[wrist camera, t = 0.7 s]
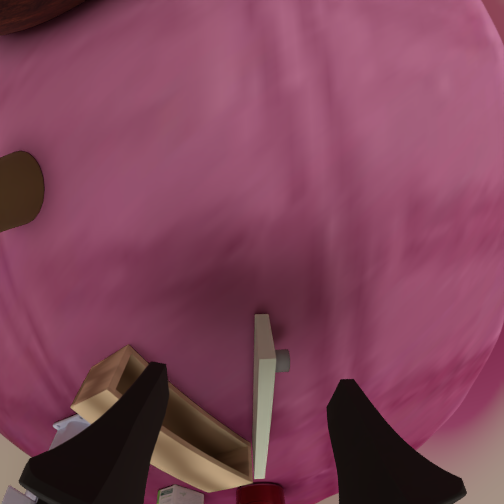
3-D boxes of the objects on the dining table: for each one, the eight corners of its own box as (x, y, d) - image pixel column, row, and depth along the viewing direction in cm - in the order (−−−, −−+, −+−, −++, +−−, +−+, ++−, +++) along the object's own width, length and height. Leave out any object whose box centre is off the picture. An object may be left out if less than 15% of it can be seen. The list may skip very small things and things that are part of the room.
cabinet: (210, 456, 28) (208, 492, 23) (91, 367, 22) (70, 407, 17) (250, 443, 27) (252, 482, 22) (128, 344, 22) (107, 389, 16)
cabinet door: (252, 442, 26) (254, 478, 22) (254, 314, 21) (259, 359, 16) (272, 441, 27) (276, 477, 22) (284, 313, 21) (296, 357, 16)
